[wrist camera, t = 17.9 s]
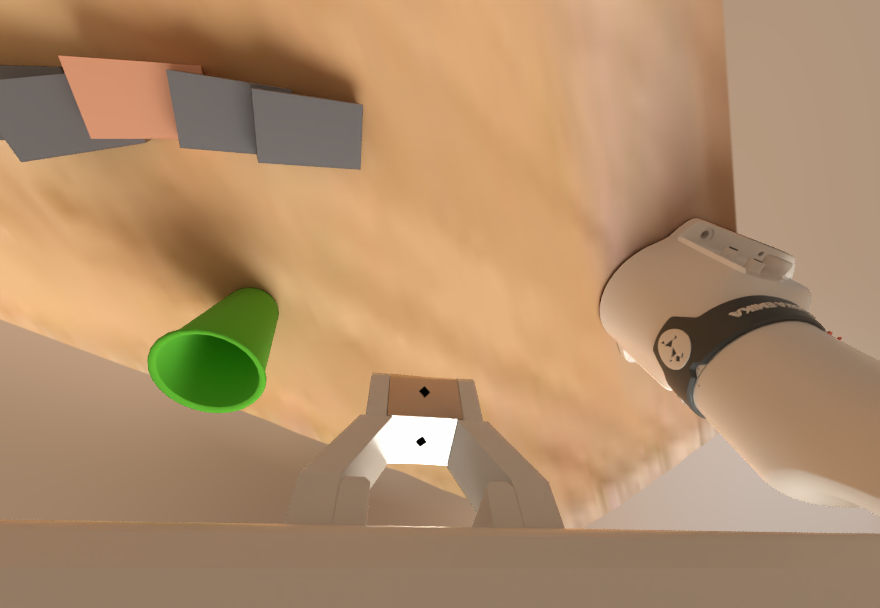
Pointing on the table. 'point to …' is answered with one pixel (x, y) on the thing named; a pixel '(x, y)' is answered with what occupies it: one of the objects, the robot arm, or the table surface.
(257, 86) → the domino
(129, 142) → the domino
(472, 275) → the table surface
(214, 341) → the cup
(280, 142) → the domino
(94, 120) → the domino
